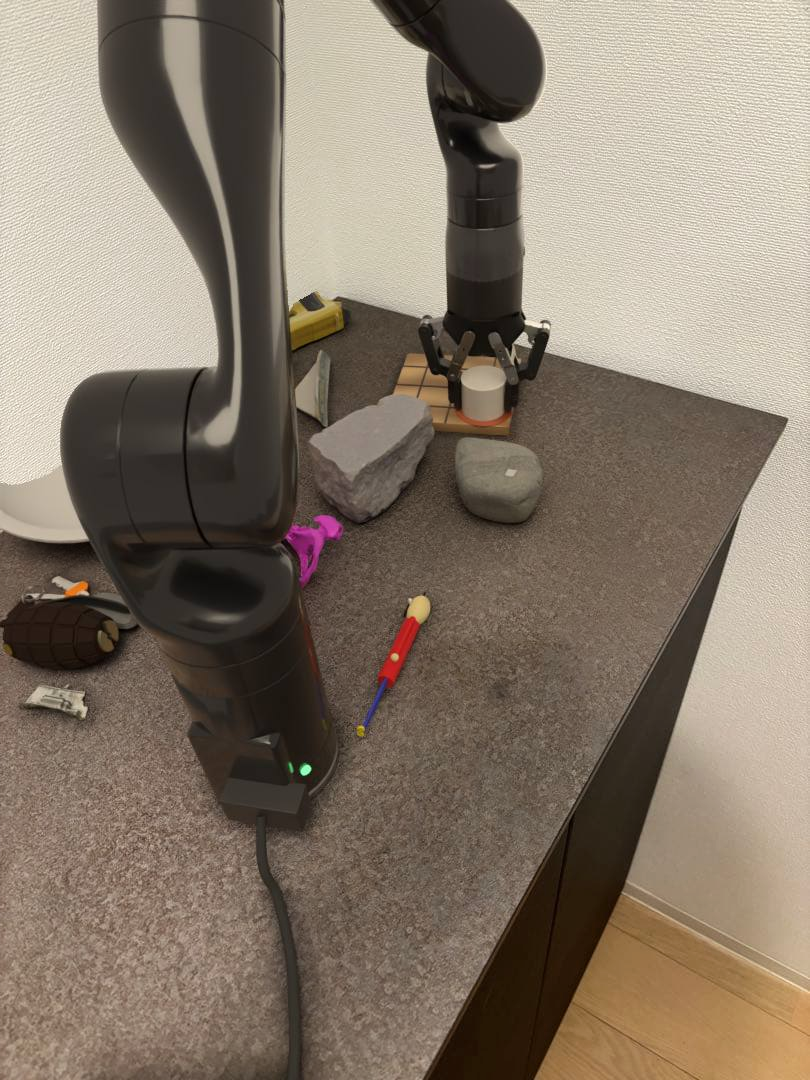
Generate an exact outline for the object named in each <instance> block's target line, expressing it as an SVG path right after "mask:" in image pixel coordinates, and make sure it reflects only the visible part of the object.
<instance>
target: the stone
mask: <svg viewBox="0 0 810 1080" xmlns="http://www.w3.org/2000/svg"><path fill="white" fill-rule="evenodd" d="M454 472H455V478H456V482H457V488H458V491H459V495H460V496H461V497H460V498H461V500H462V502H463V504H464V505H465V507H466V509H468V510H469V512H471V513H472V514H473V515H475V516H478V517H479V518H482V519H486V520H489V521H493V522H499V523H506V524H514V523H515V524H516V523H522V522H524V521H526V520H527V519H528V518H529V517H530V516H531V514H532V513H533V511H534V510H535V508H536V505H537V502H538V500H539V497H540V495H541V491H542V488H543V478H544V477H543V469H542V466H541V462H540V459H539V458H538V456H537V455H536V453H535V452H534V451H532V449H530V448H528V447H526V446H524V445H521V444H518V443H514V442H510V441H504V440H503V441H502V440H497V439H488V438H479V437H472V436H471V437H469V436H466V437H462V438H460V439H459V440H458V441H457V443H456V446H455V451H454Z"/></svg>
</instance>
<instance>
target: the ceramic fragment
mask: <svg viewBox="0 0 810 1080" xmlns="http://www.w3.org/2000/svg"><path fill="white" fill-rule="evenodd" d="M330 368H331V357H330V356H329V355H328V354H327V352H326V351H325V350H323V349H320V350H319V351H318V354H317V358H316V362H315V363H314V364H313V366H312V367H310V370H309V371H308V372H307V374H305V376H304V377H303V378H302V380H301V381H300V382H299V383H298V384H297V386H295V396H296V409H297V411H300V412H301V413H303V414H306V415H308V416H309V417H311V418H313V419H314V420H316V421H318V422H319V423H320V425H322V426H323V427H325V428H327V427H329V426H328V425H329V424H328V423H329V422H328V419H329V418H328V396H329V381H330Z"/></svg>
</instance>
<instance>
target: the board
mask: <svg viewBox="0 0 810 1080" xmlns="http://www.w3.org/2000/svg"><path fill="white" fill-rule="evenodd" d="M444 358H445V359H448V360H452V358H453V354H452V355H450V354H444ZM518 360H519V363H520V364H521V363H522V359H521V358H518ZM483 365H484V366H493V367H497V368H499V369H501V370H502V371H504V370H503V369H502V368H501V367H500V364H499V362H498V359H497V358H495V357H488V356H476V357H474V356H467V358H466V360H465V363H464V365H463V367H462V369H461V371H463V373H464V372H465V371H466V370H467V369H469V368H472V367H475V366H483ZM392 394H406V395H409V396H411V397H416V398H419V399H422V400H423V401H425V402H426V403H428V404H429V406H430V409H431V412H432V415H433V422H432V426H433V428H434V432H446V433H459V434H473V435H475V434H476V435H490V436H505V437H509V435H510V434H509V433H510V429H511V424H512V417H513V413H514V407H512V410H511V412H505V413H504V414H503V415H502V416H501V417H499V418H497V419H494V420H491V421H475V420H472V419H469V418H467V417H466V416H465V415H464V414H463V413H462V410H461V409H458V408H454V403H450V402H449V400H448V380H447V378H446V377H445V376H443V375H440V374H439V375H433V374H432V373H431V372H430V369H429V366H428V362H427V359H426V356H425V353H408V352H407V354H406V358H405V361H404V363H403V365H402V367H401V371H400V374H399V376H398V379H397V381H396V384H395V387H394V390H393V393H392Z"/></svg>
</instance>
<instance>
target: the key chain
mask: <svg viewBox="0 0 810 1080" xmlns="http://www.w3.org/2000/svg"><path fill="white" fill-rule="evenodd" d="M51 583H52V584H55V585H56V586H57V587H58V588H62V589H63V591H64V594H56V593H44V595H43V596H42V597H41V598H40V599H39V600H54V599H59V598H64V597H69V596H75V595H88V596H90V593H89V592H88V590H89V589H88V588H89V584H88V583H87V582H86V581H82V580H81V581H78V582H72V581H70V580H68V579H67V578H65V577H62V576H61V575H57V576H55V577H53V578H52V580H51ZM39 594H40V593H38V592H37V593H36V592H35V593H27V594H26V596H27V595H31V596H33V598H35V597H37V596H38V595H39ZM93 596H95V597H100V598H104V599H109V600H114V601H117V602H120V603H123V604H124V605H126V604H125V603H124V601H123V599H122V597H121V595H120V594H119V593H113V592H99V593H96V594H93ZM21 598H23V594H22V595H21ZM87 607H88V606H87ZM90 608H93V609H95V610H96V611H99V612H101V613H103V614H105V615H107V616H109V617H110V618H112V619H113V621H114V622H115V623H116V625H117V627H118V629H122V630H128V629H132V628H134V627H135V626H137V625H139V624H138V623H137V622H136V621H135V620H134V618H133V617H132V615H131V614H129V615H128V614H122V613H118V612H114V611H110V610H107V609H102V608H97V607H90Z"/></svg>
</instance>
